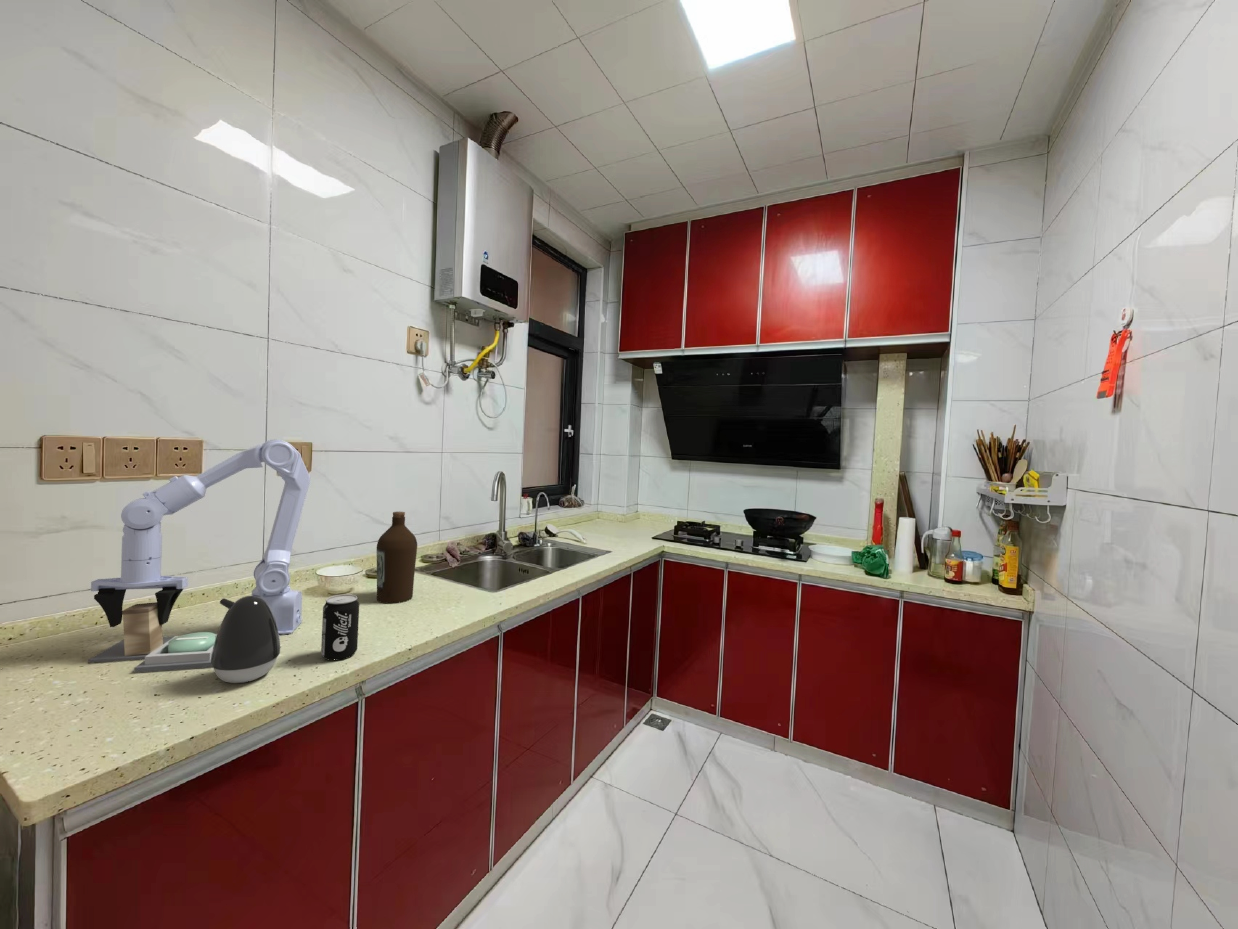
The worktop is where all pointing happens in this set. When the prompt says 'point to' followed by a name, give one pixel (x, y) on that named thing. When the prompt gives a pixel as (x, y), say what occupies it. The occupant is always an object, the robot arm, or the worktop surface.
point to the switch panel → (174, 660)
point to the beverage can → (340, 626)
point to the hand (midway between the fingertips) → (139, 624)
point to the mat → (119, 653)
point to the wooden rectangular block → (141, 629)
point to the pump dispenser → (245, 641)
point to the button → (191, 642)
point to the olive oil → (396, 562)
